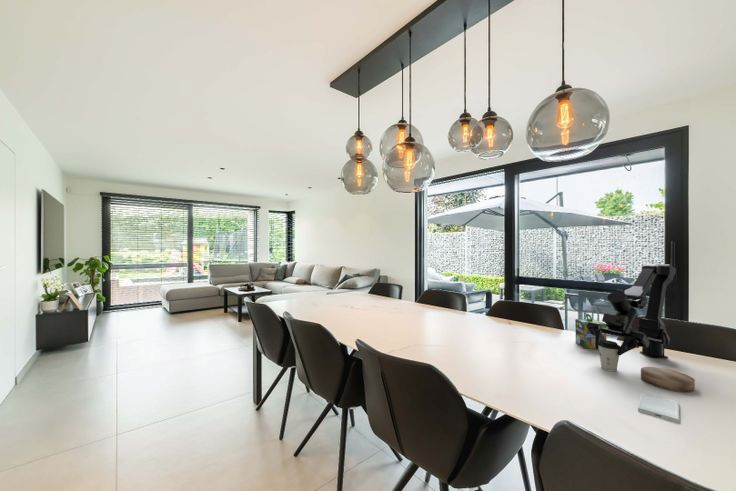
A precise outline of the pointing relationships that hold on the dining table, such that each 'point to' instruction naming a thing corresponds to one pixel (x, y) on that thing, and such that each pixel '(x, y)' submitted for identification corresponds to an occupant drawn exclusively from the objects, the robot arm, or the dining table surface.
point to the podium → (667, 379)
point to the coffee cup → (608, 354)
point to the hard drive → (659, 407)
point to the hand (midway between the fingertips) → (606, 351)
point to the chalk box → (586, 332)
